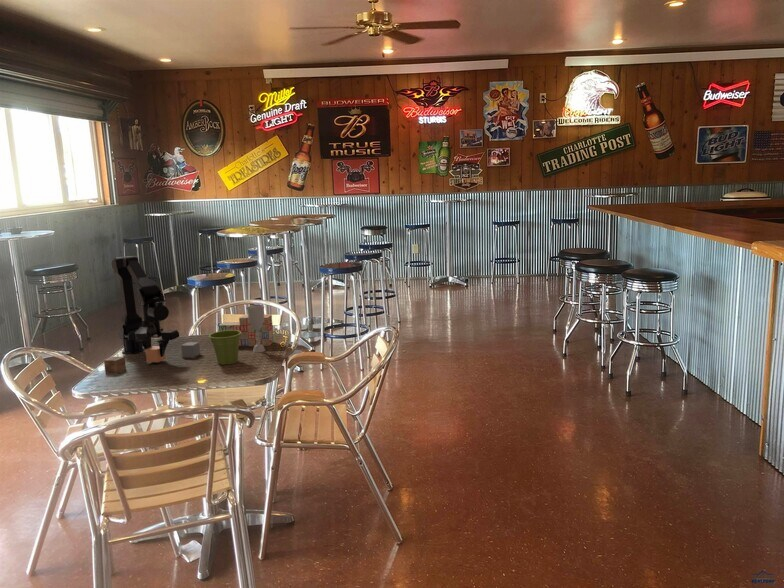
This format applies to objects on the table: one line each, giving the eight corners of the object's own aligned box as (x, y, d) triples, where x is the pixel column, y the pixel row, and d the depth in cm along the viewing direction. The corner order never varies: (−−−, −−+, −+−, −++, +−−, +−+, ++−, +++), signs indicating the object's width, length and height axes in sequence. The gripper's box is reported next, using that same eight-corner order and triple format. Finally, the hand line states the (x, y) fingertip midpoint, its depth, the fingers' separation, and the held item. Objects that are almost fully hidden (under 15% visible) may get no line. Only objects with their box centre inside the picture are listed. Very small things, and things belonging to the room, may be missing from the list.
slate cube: (182, 357, 240) (181, 345, 239) (189, 354, 245) (187, 342, 244) (193, 357, 239) (192, 345, 238) (200, 354, 244) (199, 342, 243)
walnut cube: (105, 373, 223) (103, 360, 222) (114, 369, 228) (112, 356, 227) (117, 373, 222) (115, 360, 221) (126, 369, 226) (124, 356, 226)
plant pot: (219, 358, 236) (217, 330, 235) (248, 358, 235) (246, 329, 233) (206, 367, 225) (203, 337, 223) (236, 367, 223) (233, 337, 221)
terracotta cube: (146, 362, 232) (145, 349, 231) (154, 358, 237) (153, 346, 236) (158, 362, 231) (156, 349, 230) (165, 358, 236) (164, 346, 235)
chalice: (247, 352, 242) (243, 308, 239) (253, 348, 249) (250, 305, 246) (264, 353, 241) (260, 308, 238) (270, 348, 248) (267, 305, 244)
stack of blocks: (220, 346, 255) (217, 318, 252) (225, 342, 261) (223, 315, 259) (269, 345, 252) (267, 317, 250) (274, 342, 259) (271, 313, 256)
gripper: (116, 321, 225) (121, 361, 228) (161, 321, 221) (165, 363, 224) (134, 315, 236) (139, 353, 239) (177, 315, 232) (182, 354, 235)
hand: (155, 356), depth 234 cm, fingers closed on terracotta cube, 5 cm apart
